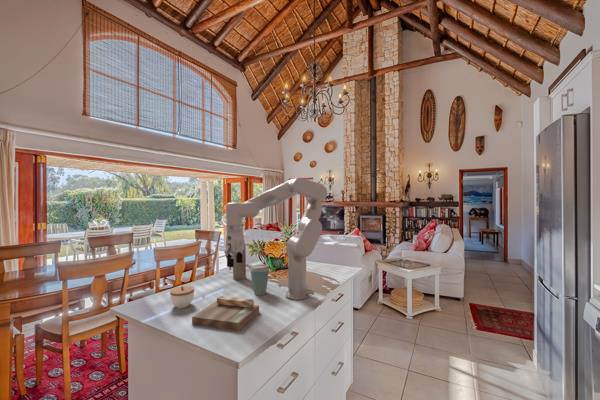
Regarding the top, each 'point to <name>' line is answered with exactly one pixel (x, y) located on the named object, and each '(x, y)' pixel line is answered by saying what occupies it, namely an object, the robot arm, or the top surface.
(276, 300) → the top surface
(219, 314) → the brown wooden flat board
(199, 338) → the top surface
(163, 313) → the top surface
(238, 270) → the thermos bottle
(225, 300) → the oak leg
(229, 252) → the robot arm
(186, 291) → the lidded jar
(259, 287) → the disposable coffee cup
